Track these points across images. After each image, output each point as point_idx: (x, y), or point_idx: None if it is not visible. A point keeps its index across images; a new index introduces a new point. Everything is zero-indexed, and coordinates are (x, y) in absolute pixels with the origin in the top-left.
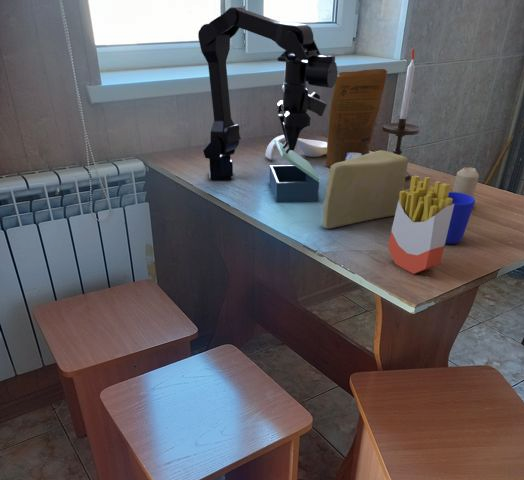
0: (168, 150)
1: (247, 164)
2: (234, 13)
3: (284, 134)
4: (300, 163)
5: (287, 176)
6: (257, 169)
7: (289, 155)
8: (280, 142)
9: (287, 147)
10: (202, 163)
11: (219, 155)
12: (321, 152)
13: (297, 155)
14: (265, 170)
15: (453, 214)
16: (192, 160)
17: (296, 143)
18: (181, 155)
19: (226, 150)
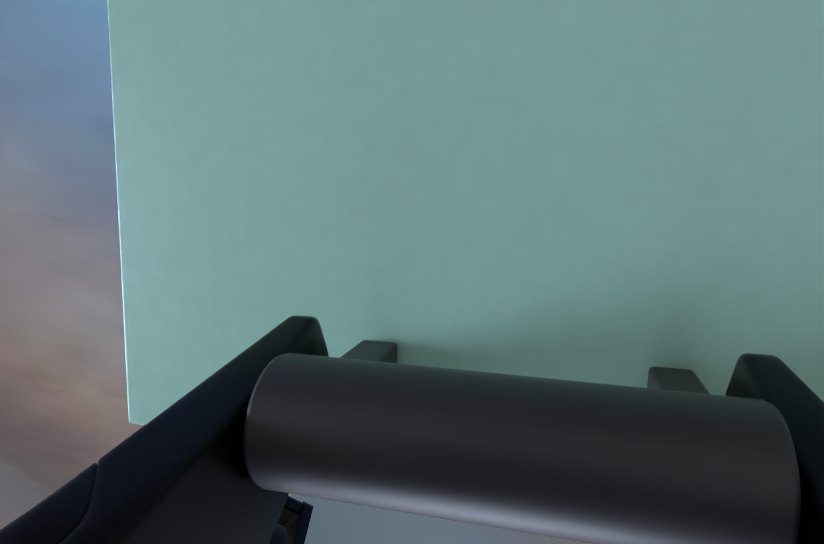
0: (11, 466)
1: (2, 249)
2: None
3: (273, 524)
4: (798, 103)
5: None
6: (63, 209)
7: (726, 335)
8: (125, 341)
9: (128, 226)
10: (102, 409)
11: (303, 528)
12: None
13: (202, 58)
14: (57, 165)
15: None
16: (82, 430)
17: (786, 426)
18: (42, 446)
19: (280, 537)
